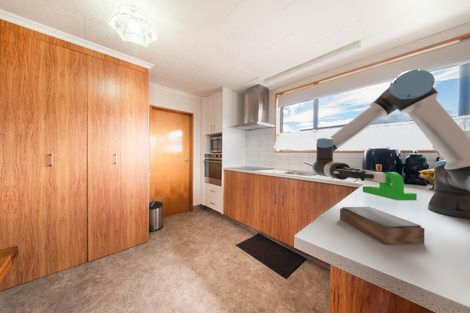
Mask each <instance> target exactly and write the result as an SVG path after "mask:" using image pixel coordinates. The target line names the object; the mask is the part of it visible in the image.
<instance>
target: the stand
mask: <svg viewBox="0 0 470 313" xmlns="http://www.w3.org/2000/svg"><path fill="white" fill-rule="evenodd" d="M339 220H340V221H342V222H344V223H345V224H347V225H349V226H351V227H353V228H354V229H356V230H358V231H360V232H362V233H364V234H365V235H367V236H369V237H371V238H372V239H374V240H376V241H377V242H379V243H381V244H384V245H385V246H388V245H393V246H395V245H415V243H422V244H425V227H422V224H421V225H420V224H419V223H415V222H412V221H409V220H407V219H404V218H401V217H398V216H396V215H393V214H391V213H387V212H385V211H382V210H379V209H376V208H374V207H371V206H342V207H340V208H339Z"/></svg>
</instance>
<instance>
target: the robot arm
mask: <svg viewBox="0 0 470 313" xmlns="http://www.w3.org/2000/svg"><path fill="white" fill-rule="evenodd" d="M435 82H436V80H435V76H434V75H433V74H432V73H431V72H430V71H428V70H425V69H411V70H407V71H404V72H402V73H401V74H399V75H398V76H397V77H395V78H393V79H392V81H391V82H390V83H389V84H388V86H386V88H385V89H384V90H383V91H382V93H381V94H379V96H378V97H377V98H376V99H375V100H373V101H372V102H371V103H370V104H369V107H368V108H366V109H364V111H362V112H361V113H359V114H358V115H357V116H355V117H354V118H353V119H352V120H351V121H349V122H348V123H347V124H346V125H344V126H343V127H342V128H340V129H339V130H337V131H336V132H335V133H333V135H331V136H330V137H319V138H317V139H316V159H315V162H314V163H313V164H312V171H313V172H314V174H316V175H318V176H321V177H322V176H323V177H327V178H331V179H332V180H334V179H335V180H340V181H344V180H347V179H348V178H351V179H355V180H356V179H357V180H358V179H360V182H361V181H362V182H365V180H367V181H373V182H378V183H380V182H383V183H386V174H383V173H384V172H381V171H378V170H377V169H373V170H369V169H364V168H362V169H360V168H355V167H352V166H351V167H350V165H349V164H347V163H346V162H341V161H340V162H339V161H334V157H333V156H334V152H336V151H337V150H338V149H339V148H341V147H342V146H343V145H346V143H348V142H349V141H350V140H352V139H353V138H355V137H356V136H357V135H359V134H360V133H362V132H363V131H364V130H366V129H367V128H369V127H370V126H371V125H373V124H374V123H376V122H377V121H378V120H380V119H381V118H385V117H387V116H388V115H390V114H392V113H393V112H395V111H397V110H399V112H400V113H404V114H405V113H406V114H408V115H409V117H410V118H411V120H413V122H414V123H415V124H416V126H417V127H418V128H419V130H420V131H421V132H422V133H423V134H424V135H425V137H426V138H427V139H428V140H429V142H430V143H431V144H432V146H433V147H434V148H435V149H436V150H437V152H438V153H439V154H440V156H441V158H443V159H444V160H438V161H436V162H435V164H434V167H433V170H434V177H433V178H434V180H433V181H434V182H433V184H434V185H433V187H434V188H433V189H434V190H433V194H432V196H431V198H430V200H429V202H428V204H427V209H428V210H430V211H431V212H434V213H437V214H438V213H439V214H441V215H446V216H451V217H457V218H461V219H462V218H463V219H470V137H469V136H468V135H467V133H466V132H465V131H464V130H463V129H462V127H460V126H459V124H458V123H457V121H455V120H454V118H453V117H452V116H451V115H450V114H449V112H447V110H446V109H445V108H444V107H443V106H442V105H441V104H440V102H439V101H438V100H437V97H438V95H439V92H438V91H437V89H436V88H435V87H434V85H435ZM390 183H392V184H393V181H392V179H390Z"/></svg>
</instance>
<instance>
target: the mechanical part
mask: <svg viewBox="0 0 470 313" xmlns="http://www.w3.org/2000/svg"><path fill="white" fill-rule="evenodd" d="M382 173H383V174H386V183H383V182H379V186H373V185H372V186H367V185H366V186H362V193H366V194H370V195H374V196H378V197H382V198H386V199H389V200H395V201H418V200H417V198H418V196H417V195H418V194H417V193H415V192H409V191H405V182H404V178H403V176H402V175H401V174H399V173H398V172H395V171H387V172H382ZM390 179H392V181H393V183H392V184H391V182H390Z"/></svg>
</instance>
